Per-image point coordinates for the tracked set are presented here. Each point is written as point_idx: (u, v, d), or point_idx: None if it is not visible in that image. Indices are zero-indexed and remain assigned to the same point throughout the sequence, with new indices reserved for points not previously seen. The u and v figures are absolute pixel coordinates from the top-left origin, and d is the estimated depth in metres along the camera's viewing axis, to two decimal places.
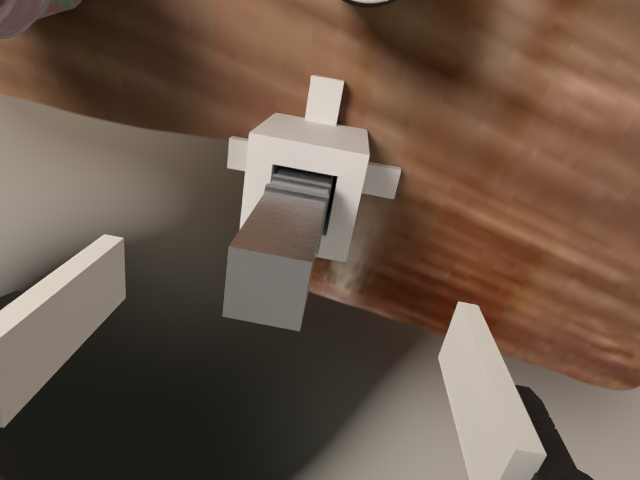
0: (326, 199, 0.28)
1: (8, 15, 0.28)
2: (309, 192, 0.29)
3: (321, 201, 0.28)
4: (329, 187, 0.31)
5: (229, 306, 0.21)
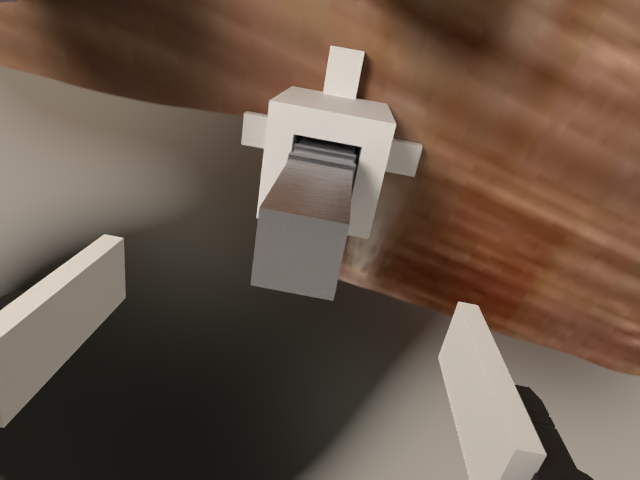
0: (353, 168, 0.27)
1: None
2: (335, 161, 0.27)
3: (348, 169, 0.26)
4: (354, 157, 0.29)
5: (258, 274, 0.20)
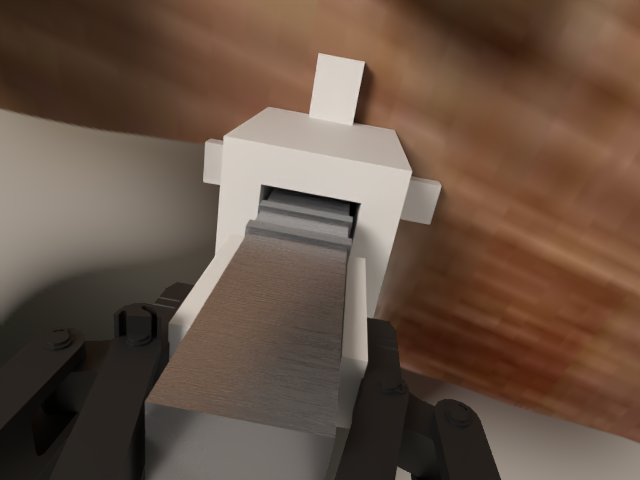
0: (347, 247, 0.17)
1: None
2: (319, 235, 0.17)
3: (340, 252, 0.17)
4: (350, 222, 0.19)
5: None
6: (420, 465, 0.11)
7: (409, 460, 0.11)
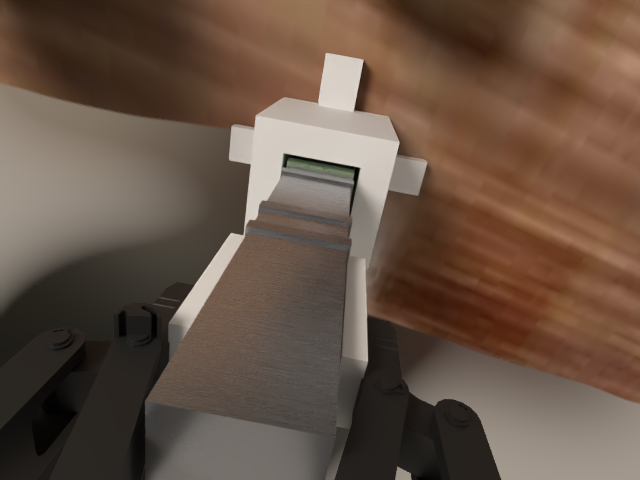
0: (347, 247, 0.17)
1: None
2: (319, 235, 0.17)
3: (340, 252, 0.17)
4: (350, 222, 0.19)
5: None
6: (419, 465, 0.11)
7: (409, 460, 0.11)
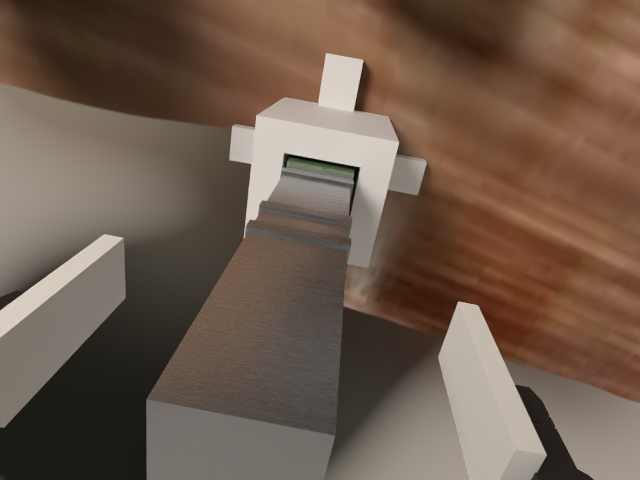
0: (347, 247, 0.17)
1: None
2: (319, 235, 0.18)
3: (339, 252, 0.17)
4: (349, 222, 0.19)
5: None
6: None
7: None
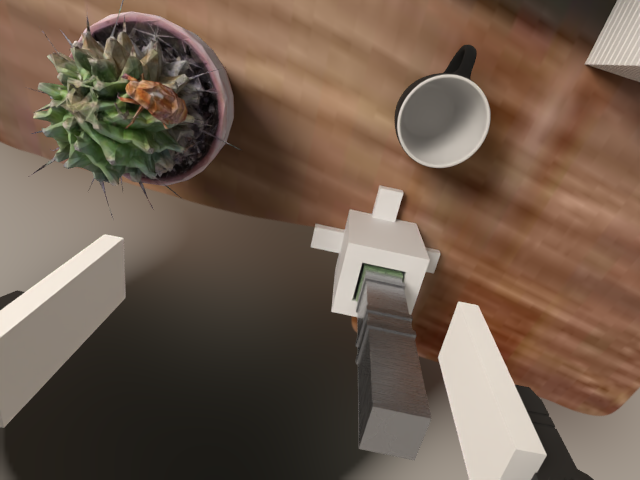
0: (414, 336, 0.37)
1: None
2: (400, 329, 0.37)
3: (411, 339, 0.36)
4: (411, 319, 0.39)
5: (365, 442, 0.30)
6: None
7: None
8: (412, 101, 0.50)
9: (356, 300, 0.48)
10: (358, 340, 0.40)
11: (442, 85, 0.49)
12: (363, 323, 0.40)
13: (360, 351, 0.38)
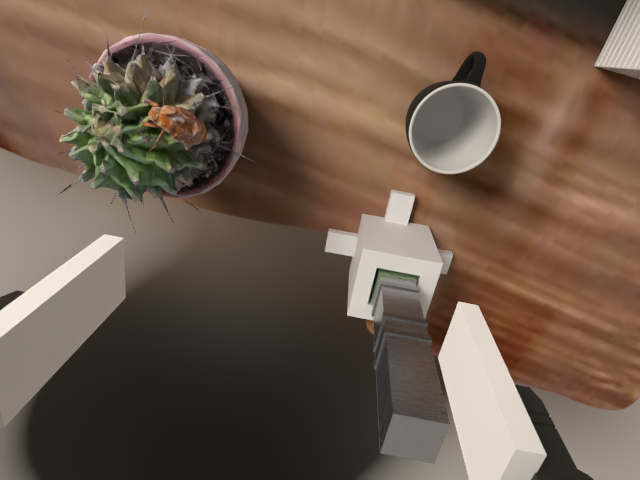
0: (430, 341, 0.38)
1: (219, 183, 0.43)
2: (416, 334, 0.38)
3: (428, 344, 0.37)
4: (426, 324, 0.40)
5: (386, 447, 0.31)
6: None
7: None
8: (422, 107, 0.51)
9: (371, 304, 0.49)
10: (375, 345, 0.42)
11: (452, 90, 0.49)
12: (380, 329, 0.41)
13: (378, 356, 0.39)
